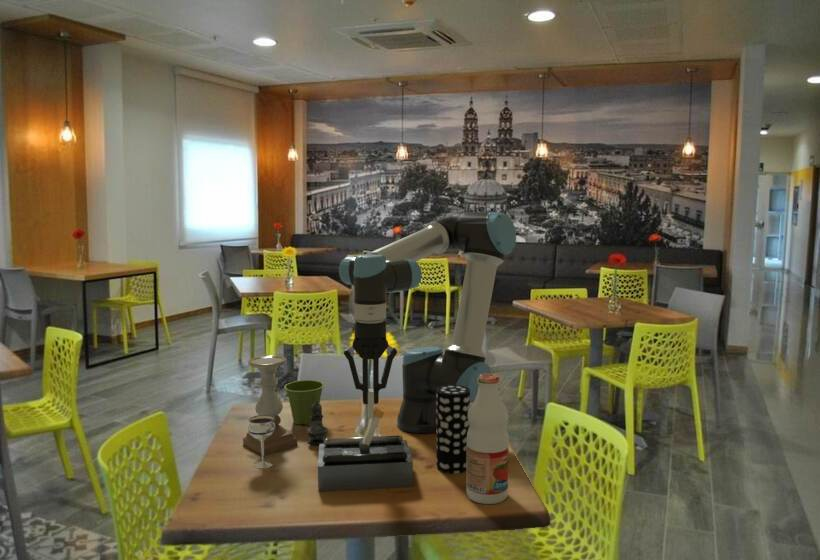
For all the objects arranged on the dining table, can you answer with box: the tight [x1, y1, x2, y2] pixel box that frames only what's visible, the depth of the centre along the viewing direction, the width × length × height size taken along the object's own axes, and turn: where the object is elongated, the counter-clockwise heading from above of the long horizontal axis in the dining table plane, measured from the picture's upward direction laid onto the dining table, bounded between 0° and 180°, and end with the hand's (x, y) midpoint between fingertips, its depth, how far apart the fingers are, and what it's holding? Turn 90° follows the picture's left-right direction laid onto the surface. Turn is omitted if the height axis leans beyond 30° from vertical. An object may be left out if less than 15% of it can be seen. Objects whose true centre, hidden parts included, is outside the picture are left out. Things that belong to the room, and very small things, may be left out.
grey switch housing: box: [317, 435, 414, 492], centre depth 162 cm, size 22×14×8 cm, turn 96°
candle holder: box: [242, 355, 298, 456], centre depth 181 cm, size 11×11×24 cm
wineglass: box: [247, 414, 275, 470], centre depth 169 cm, size 7×7×12 cm
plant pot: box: [283, 379, 325, 426], centre depth 200 cm, size 12×12×11 cm
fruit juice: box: [465, 373, 510, 505], centre depth 150 cm, size 9×9×28 cm
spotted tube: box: [435, 385, 471, 474], centre depth 166 cm, size 8×8×20 cm
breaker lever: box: [359, 404, 385, 454], centre depth 161 cm, size 2×4×11 cm, turn 7°
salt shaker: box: [306, 400, 329, 447], centre depth 184 cm, size 6×6×12 cm
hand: (370, 416), depth 160 cm, fingers closed
